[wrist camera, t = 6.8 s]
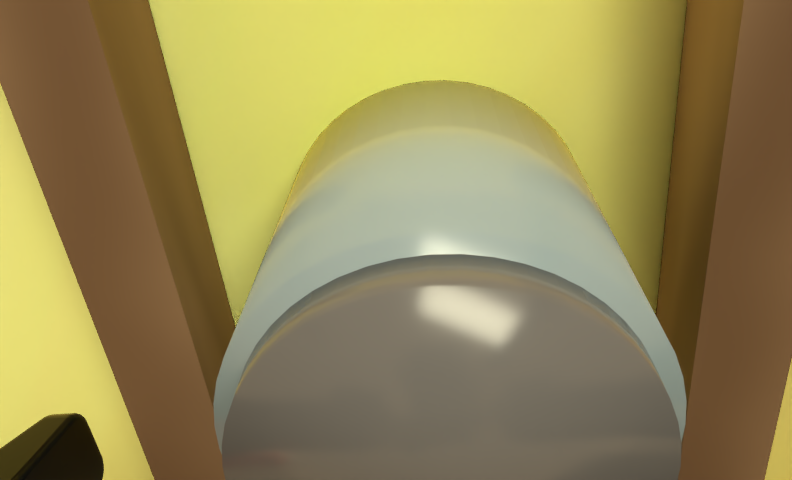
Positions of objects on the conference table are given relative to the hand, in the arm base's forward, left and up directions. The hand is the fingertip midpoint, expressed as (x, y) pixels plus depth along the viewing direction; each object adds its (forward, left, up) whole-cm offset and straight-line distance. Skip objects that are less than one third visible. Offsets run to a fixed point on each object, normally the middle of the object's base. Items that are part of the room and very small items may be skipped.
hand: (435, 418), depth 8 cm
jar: (0, 0, -5) cm, 5 cm away
